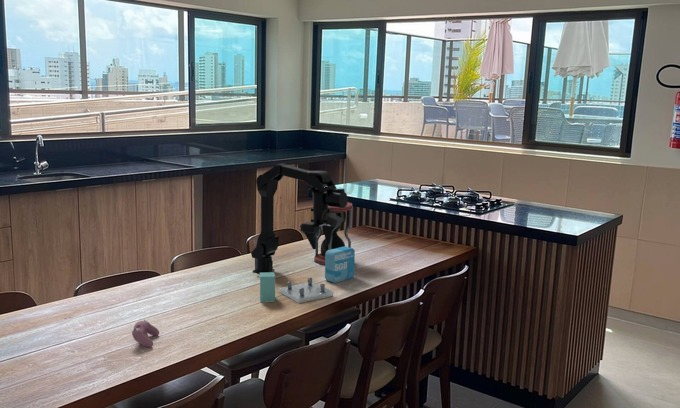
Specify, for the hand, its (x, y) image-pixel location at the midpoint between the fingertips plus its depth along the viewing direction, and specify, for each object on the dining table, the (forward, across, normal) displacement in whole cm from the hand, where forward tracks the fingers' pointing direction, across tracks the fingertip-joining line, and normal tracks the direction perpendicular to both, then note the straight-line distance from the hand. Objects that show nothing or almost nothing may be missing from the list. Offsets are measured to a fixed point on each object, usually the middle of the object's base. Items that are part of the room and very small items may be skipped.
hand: (321, 246), depth 227 cm
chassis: (+14, -13, -2) cm, 20 cm away
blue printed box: (+15, +9, -2) cm, 18 cm away
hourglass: (+14, +30, +14) cm, 36 cm away
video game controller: (+14, -73, +11) cm, 76 cm away
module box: (+14, -25, +6) cm, 30 cm away
